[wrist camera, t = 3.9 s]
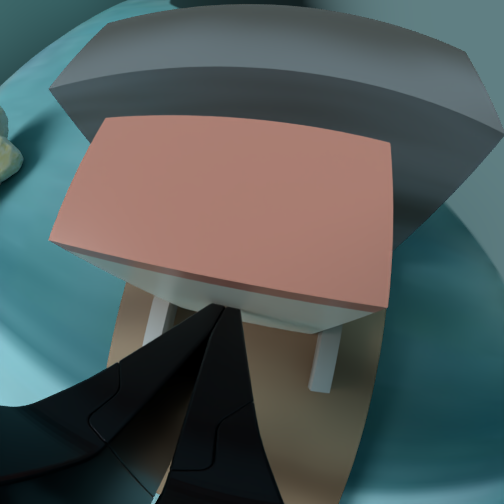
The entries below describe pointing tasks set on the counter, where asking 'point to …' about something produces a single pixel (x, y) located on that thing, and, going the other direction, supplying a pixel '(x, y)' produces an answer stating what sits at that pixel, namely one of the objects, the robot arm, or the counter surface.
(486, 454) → the counter surface
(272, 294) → the pink-topped white block
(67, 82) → the wooden platform
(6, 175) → the cheese
